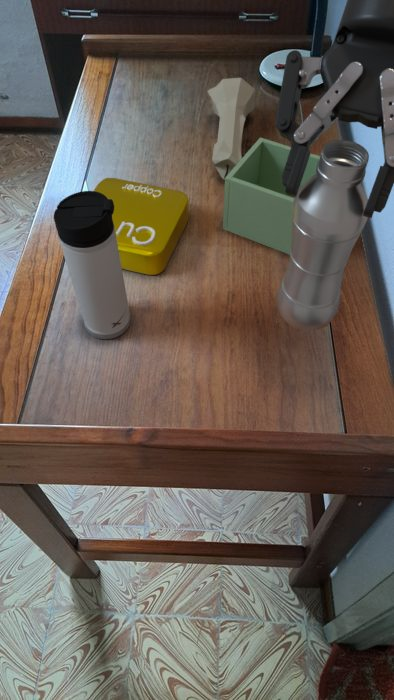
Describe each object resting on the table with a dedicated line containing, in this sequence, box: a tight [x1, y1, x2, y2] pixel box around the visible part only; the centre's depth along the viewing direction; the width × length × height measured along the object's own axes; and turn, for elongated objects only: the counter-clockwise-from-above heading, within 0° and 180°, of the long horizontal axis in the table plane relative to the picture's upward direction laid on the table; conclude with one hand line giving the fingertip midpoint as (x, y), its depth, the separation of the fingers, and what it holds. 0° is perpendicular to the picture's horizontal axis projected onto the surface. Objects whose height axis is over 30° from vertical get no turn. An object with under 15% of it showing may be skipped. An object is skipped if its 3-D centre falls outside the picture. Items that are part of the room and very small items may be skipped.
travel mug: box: [53, 190, 131, 340], centre depth 62 cm, size 6×7×20 cm
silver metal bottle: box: [275, 139, 370, 332], centre depth 48 cm, size 6×7×20 cm
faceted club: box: [207, 77, 256, 181], centre depth 90 cm, size 9×8×25 cm
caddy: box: [222, 137, 320, 256], centre depth 78 cm, size 13×12×10 cm
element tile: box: [93, 177, 190, 276], centre depth 78 cm, size 15×15×5 cm
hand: (328, 204), depth 42 cm, fingers closed on silver metal bottle, 6 cm apart
